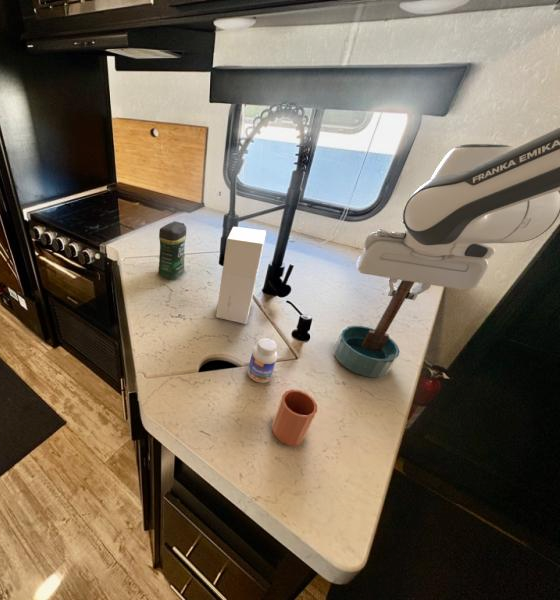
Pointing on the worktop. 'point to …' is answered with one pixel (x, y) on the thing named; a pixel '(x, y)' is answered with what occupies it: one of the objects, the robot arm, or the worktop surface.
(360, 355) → the bowl
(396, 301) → the stick
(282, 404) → the crock
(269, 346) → the pill bottle
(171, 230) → the coffee jar
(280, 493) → the worktop surface
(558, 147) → the robot arm
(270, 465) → the worktop surface
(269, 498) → the worktop surface
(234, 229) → the tall white carton
